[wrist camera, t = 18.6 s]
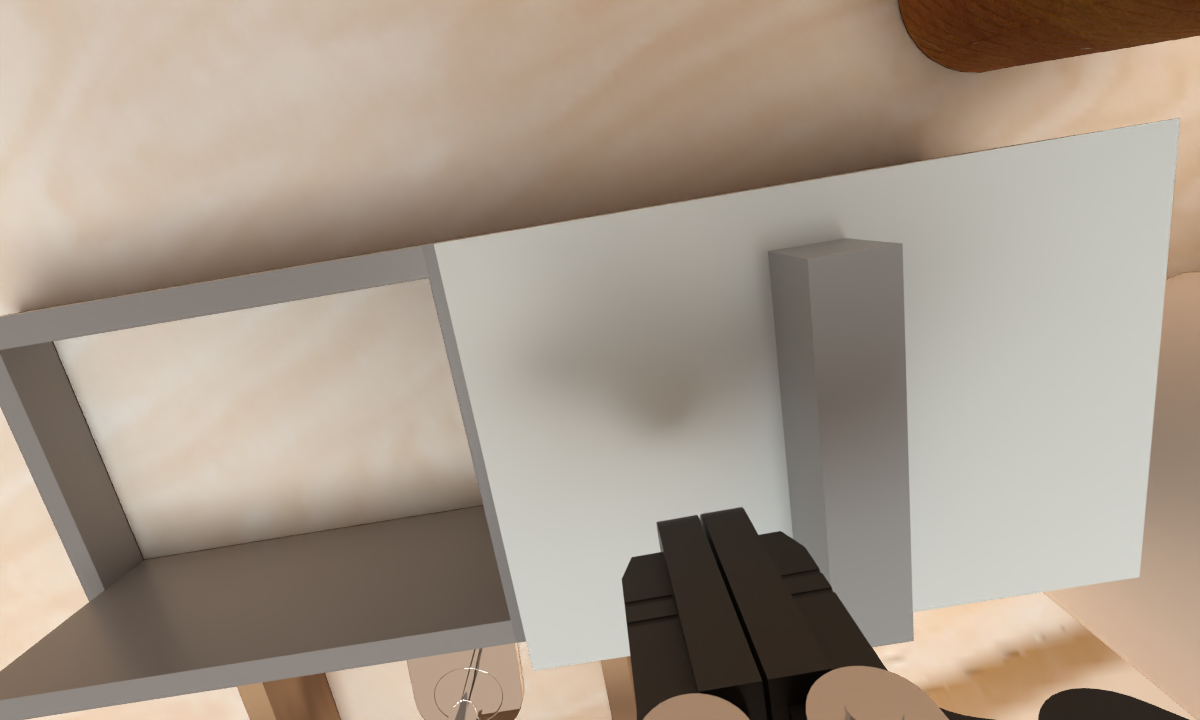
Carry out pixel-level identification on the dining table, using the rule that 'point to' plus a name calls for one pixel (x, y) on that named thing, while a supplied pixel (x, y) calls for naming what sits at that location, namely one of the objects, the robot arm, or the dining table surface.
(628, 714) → the parts frame
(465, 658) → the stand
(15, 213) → the dining table surface
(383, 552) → the frame
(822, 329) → the lid
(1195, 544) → the canister
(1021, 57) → the disposable coffee cup
